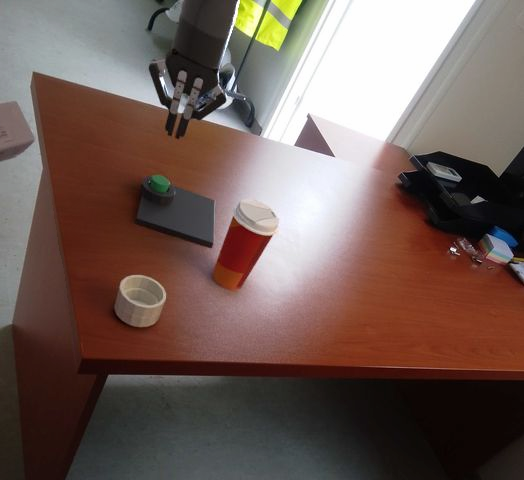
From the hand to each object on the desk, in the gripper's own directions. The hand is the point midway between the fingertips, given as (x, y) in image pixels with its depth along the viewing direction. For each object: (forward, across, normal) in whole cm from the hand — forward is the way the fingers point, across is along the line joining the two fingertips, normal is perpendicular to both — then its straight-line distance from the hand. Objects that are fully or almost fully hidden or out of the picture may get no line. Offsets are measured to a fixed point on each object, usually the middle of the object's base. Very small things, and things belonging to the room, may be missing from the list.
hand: (173, 135), depth 78 cm
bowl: (+13, 0, -31) cm, 34 cm away
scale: (+13, +4, -2) cm, 14 cm away
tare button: (+10, 0, 0) cm, 10 cm away
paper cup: (+13, +14, -17) cm, 26 cm away
